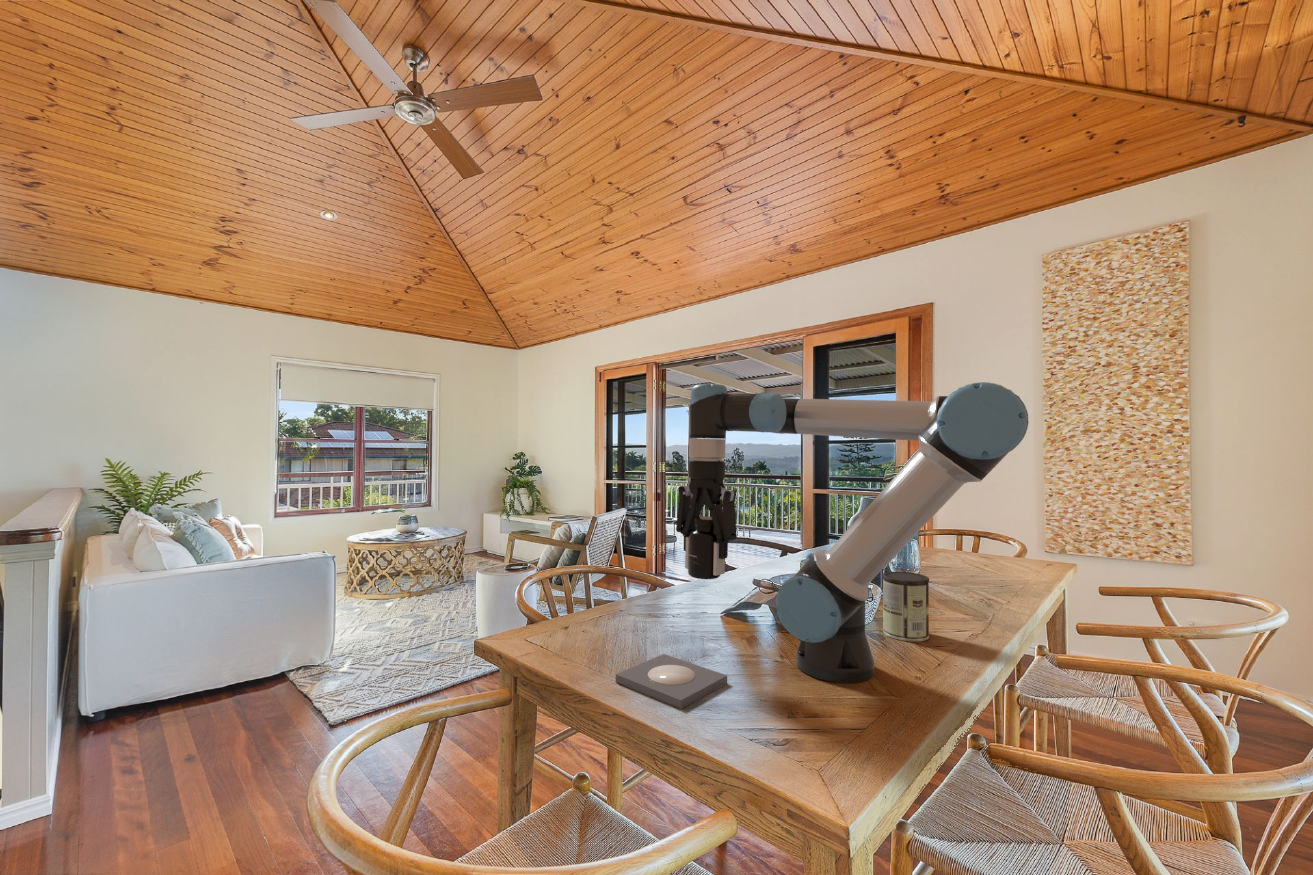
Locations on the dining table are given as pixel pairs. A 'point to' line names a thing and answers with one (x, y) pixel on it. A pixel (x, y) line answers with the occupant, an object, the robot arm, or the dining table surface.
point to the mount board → (671, 680)
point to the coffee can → (906, 606)
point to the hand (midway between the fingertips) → (704, 570)
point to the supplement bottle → (702, 549)
